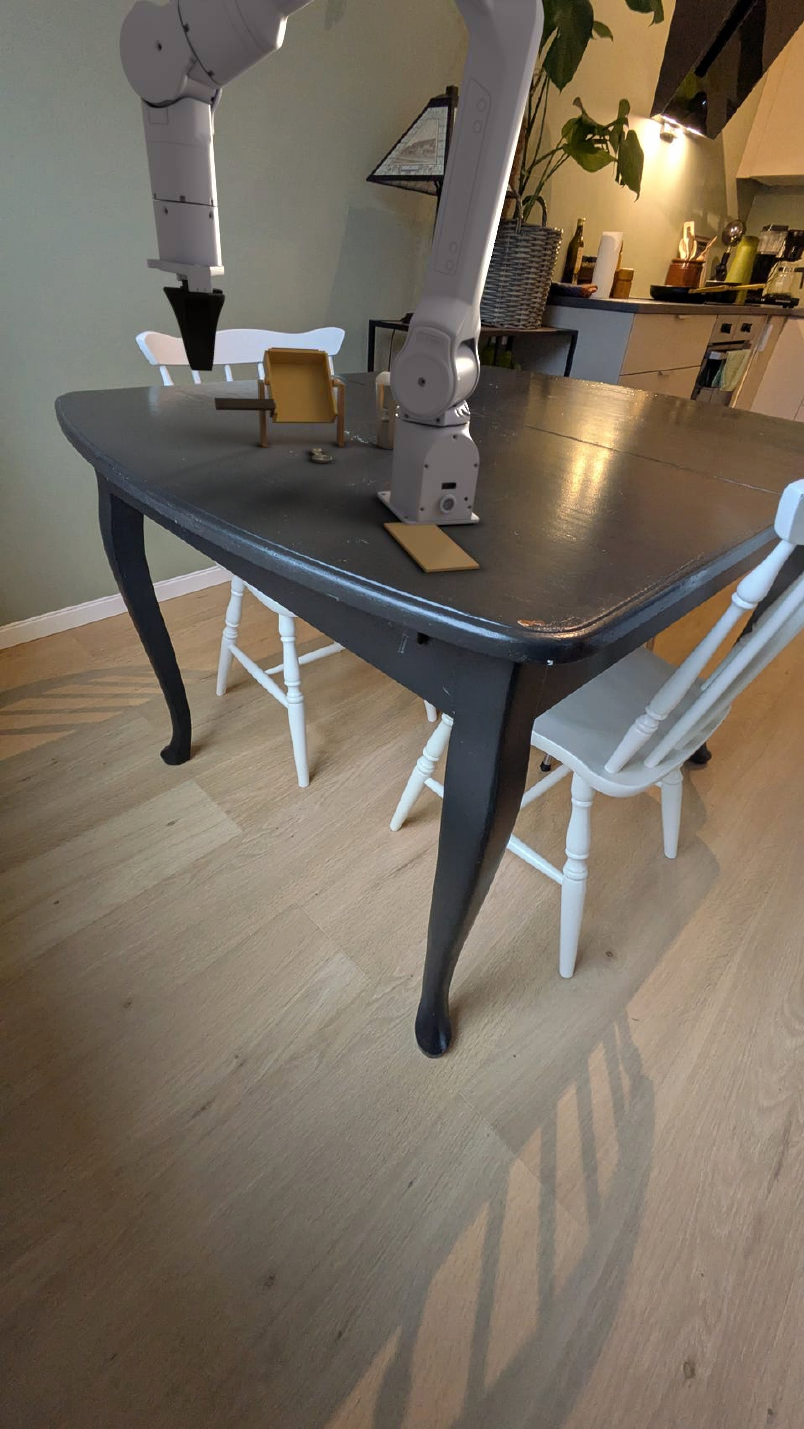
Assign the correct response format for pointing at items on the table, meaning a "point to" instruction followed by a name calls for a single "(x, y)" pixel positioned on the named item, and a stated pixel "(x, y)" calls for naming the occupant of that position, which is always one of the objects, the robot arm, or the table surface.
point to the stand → (339, 416)
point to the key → (319, 456)
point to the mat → (431, 547)
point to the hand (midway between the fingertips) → (201, 369)
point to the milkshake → (385, 411)
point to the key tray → (293, 388)
